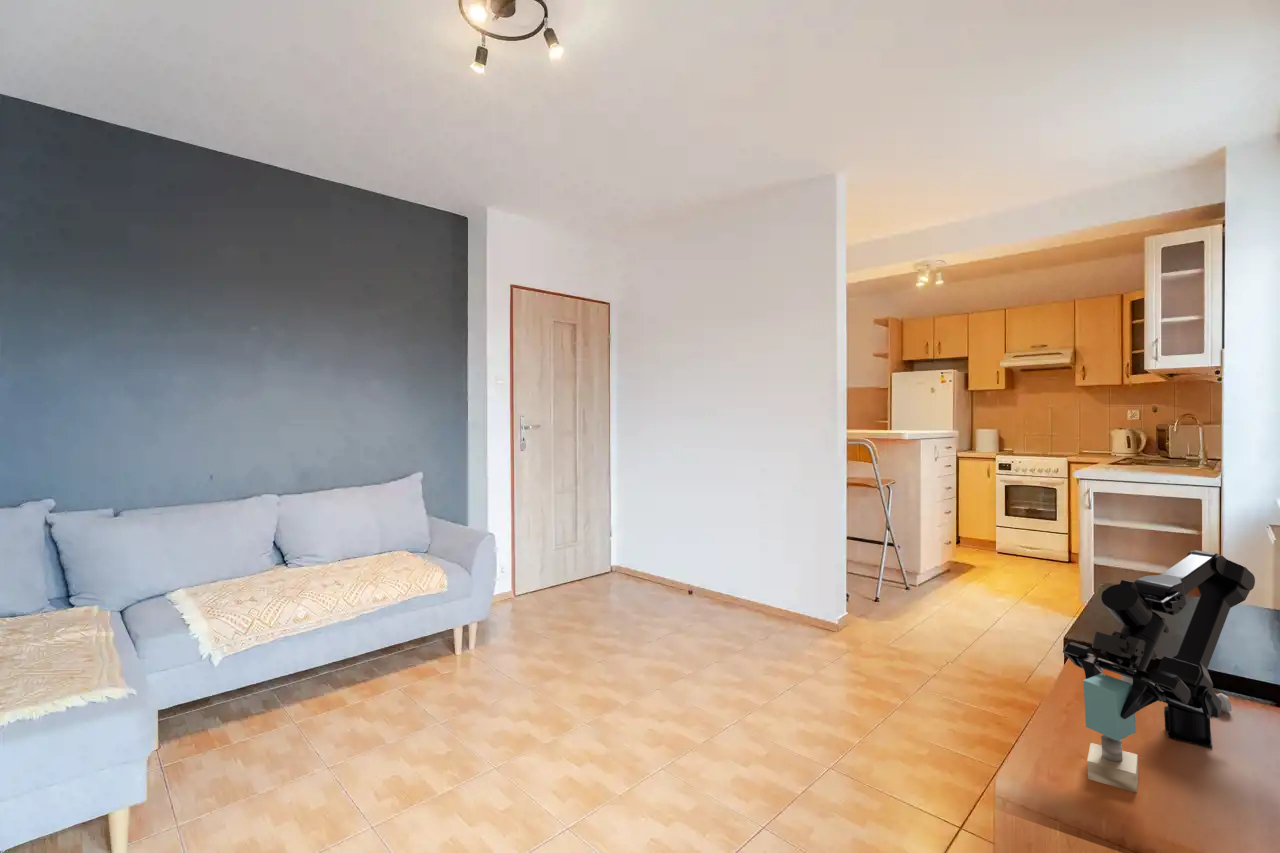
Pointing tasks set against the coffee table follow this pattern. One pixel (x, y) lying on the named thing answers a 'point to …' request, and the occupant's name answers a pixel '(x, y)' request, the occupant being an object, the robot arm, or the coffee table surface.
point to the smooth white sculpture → (1224, 703)
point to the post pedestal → (1113, 764)
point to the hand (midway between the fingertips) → (1104, 710)
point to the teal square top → (1107, 706)
